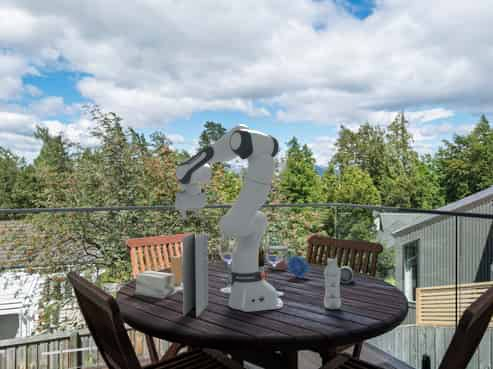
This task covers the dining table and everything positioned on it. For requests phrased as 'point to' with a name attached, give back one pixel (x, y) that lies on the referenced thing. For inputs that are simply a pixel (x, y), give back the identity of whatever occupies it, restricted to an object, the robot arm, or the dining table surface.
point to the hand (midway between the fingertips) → (190, 218)
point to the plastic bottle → (332, 284)
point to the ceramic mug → (346, 274)
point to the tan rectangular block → (176, 269)
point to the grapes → (298, 266)
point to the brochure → (195, 273)
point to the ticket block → (156, 284)
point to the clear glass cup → (284, 263)
